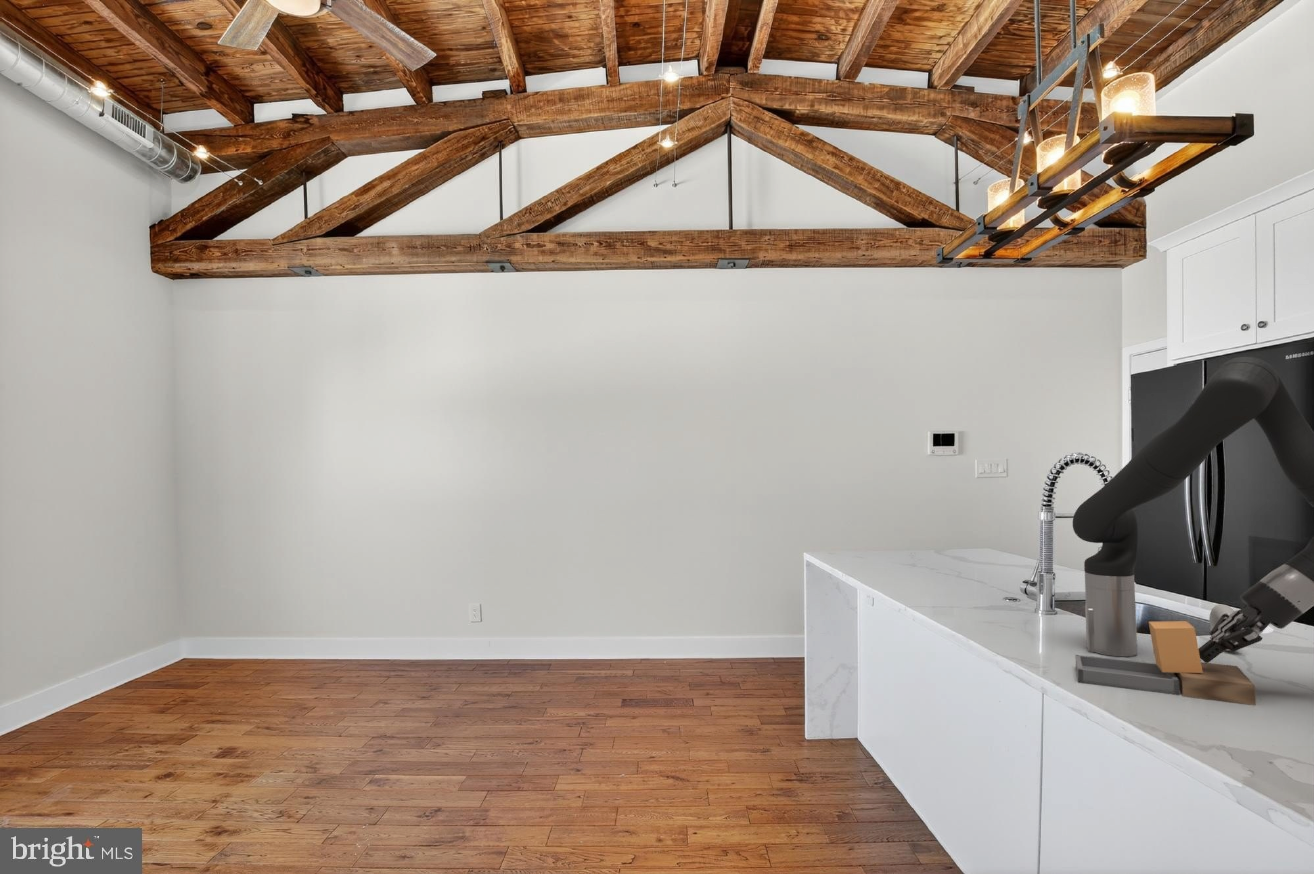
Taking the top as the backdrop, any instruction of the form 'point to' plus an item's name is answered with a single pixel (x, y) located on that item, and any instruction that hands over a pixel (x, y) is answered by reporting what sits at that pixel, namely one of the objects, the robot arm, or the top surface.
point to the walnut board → (1218, 684)
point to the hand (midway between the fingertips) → (1200, 657)
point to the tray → (1125, 674)
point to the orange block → (1175, 647)
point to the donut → (1218, 614)
